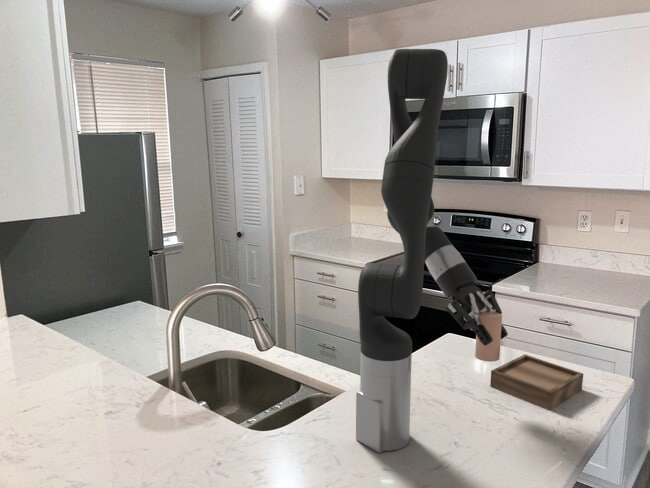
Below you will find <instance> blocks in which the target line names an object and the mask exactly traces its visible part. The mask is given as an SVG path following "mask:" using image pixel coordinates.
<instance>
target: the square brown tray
mask: <svg viewBox="0 0 650 488" xmlns="http://www.w3.org/2000/svg"><path fill="white" fill-rule="evenodd" d="M490 371H491V372H490V385H489V387H491V388H493V389H496V390H499V391H500V392H503V393H505V394H509V395H511V396H513V397H517V398H518V399H521V400H524V401H526V402H528V403H531V404H534V405H536V406H538V407H542V408H544V409H545V410H549V411H551V410H553V409H555V408H556V407H557V406H559V405H561V404H562V403H563V402H565V401H567V400H568V399H570V398H572V397H573V396H575V395H576V394H578V393H579V392H581V391H582V390H583V383H584V382H583V381H584V373H582V372H579V371H577V370H573V369H570V368H568V367H565V366H561V365H558V364H555V363H552V362H549V361H546V360H542V359H540V358H536V357H534V356H530V355H528V354H522V355H521V356H519V357H516V358H515V359H512V360H510V361H508V362H506V363H504V364H502V365H500V366H498V367H495V368H493V369H492V370H490Z"/></svg>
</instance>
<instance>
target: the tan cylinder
mask: <svg viewBox="0 0 650 488" xmlns="http://www.w3.org/2000/svg"><path fill="white" fill-rule="evenodd" d="M479 318H480V320H481V325H484V327H485V328H486V330H487V331H488V333H489V334H490V336H491V337H492V339H493V341H492V342H491V343H489V344H488V345H486V346H485V345H483V344H482V342H481V341H480V340H479V338H478V337H477V335H476V334H475V353H474V357H475V358H476V359H478V360H480V361H483V362H489V363H490V362H497V361H499V360H500V356H501V355H500V354H501V343H502V342H501V341H502V339H501V327H502V325H503V315H502V314H499V313H496V312H491V311H482V312H479Z"/></svg>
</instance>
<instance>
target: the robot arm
mask: <svg viewBox="0 0 650 488" xmlns="http://www.w3.org/2000/svg"><path fill="white" fill-rule="evenodd" d="M448 63H449V62H448V56H447V54H446V52H445V51H444V50H442V49H436V48H398V49H395V50H394V51H392V53H391V55H390V57H389V60H388V67H387V92H388V98H389V99H388V101H389V109H390V111H389V112H390V119H391V125H392V133H393V140H394V144H393V146H392V147H391V149H390V150H389V151H388V153H387V155H386V157H385V160H384V165H383V173H382V180H381V189H380V191H381V192H380V193H381V197H382V201H383V203H384V205H385V207H386V209H387V210H386V213H387V214H386V215H387V220H388V222H389V223H390V225H391V227H392V229H393V230H394V231H396V233H397V234H399V237H400V239H401V242H402V246H403V252H404V253H403V255H404V256H403V257H404V262H403V264H402V265H400V264H392V263H391V264H389V263H379V262H377V263H376V262H370V263H367V264H365V265H364V266H363V268H361V271H360V274H359V279H358V284H357V285H358V287H357V294H358V295H357V298H358V299H357V301H358V302H357V303H358V321H359V322H358V323H359V341H360V369H359V372H360V377H359V381H360V382H359V385H360V386H359V390H358V391H356V394H355V398H356V399H355V402H356V403H355V440H356V441H358V442H360V443H362V444H363V445H365V446H366V447H368V448H369V449H372V451H375V452H376V453H378V454H380V453H383V452H390V451H397V450H400V449H403V448H404V447H406V446H407V445H408V443H409V442H410V433H411V432H410V428H411V425H410V424H411V394H412V393H411V392H412V391H411V390H412V389H411V388H412V387H411V386H412V357H413V354H412V353H413V342H412V338H411V336H410V335H409V333H407V332H406V331H404V330H402V329H401V328H398V327H396V326H395V325H394V324H392V323H391V322H390V321H388V320H387V319H386V318H385V317H390V318H397V319H398V318H399V319H407V320H411V319H414V318H416V316H417V315H418V313H419V311H420V308H421V304H422V299H423V288H424V286H423V285H424V275H425V273H424V272H425V268H424V267H425V265H426V267H427V270H428V271H429V274H430V275H431V276H432V278H433V279H434V281H435V282H436V284H437V285H438V287H439V289H440V290H441V292H442V293H443V295H444V296H445V298H447V299H451V302H449V303H448V304H447V305H446V306H445V310H447V312H448V313H449V314H450V316H451V317H452V318H453V319H454V320H455V321H456V323H458V324H459V326H460V327H461V328H462V329H463V330H467V329H468V330H471V331H473V332H474V334H475V336H476V335H477V337H478V338H479V340H480V341H481V342H482V344H483V345H485V346H486V345H488V344H489V343H491V342H492V341H493V339H492V337H491V336H490V334H489V333H488V331H487V330H486V328H485V327H484V325H481V320H480V318H479V312H482V311H491V312H496V313H499V314H501V315H502V314H503V312H502V309H501V307H500V304H499V303H498V301H497V299H496V297H495V295H494V293H493V291H492V290H491V289H488V290H486V291H482V290H481V289H480V288H479V287H478V286H477V281H478V278H477V276H476V275H475V273H474V272H473V270H472V269H471V268H470V266H469V264H468V263H467V262H466V260H465V259H464V257H463V256H462V255H461V253H460V252H459V251H458V249H456V247H454V245H453V243H452V242H451V241H450V240H449V238H448V236H447V235H446V234H445V232H444V231H443V230H442V229H441V227H438V226H427V225H428V223H429V222H430V221H431V220H432V219H433V216H434V214H435V202H434V201H433V197H432V194H433V186H434V185H433V184H434V178H435V177H434V176H435V168H436V167H435V166H436V155H437V153H436V152H437V141H438V131H439V126H440V118H441V113H442V107H443V102H444V97H445V91H446V85H447V79H448V73H449V72H448V70H449V69H448V67H449V66H448V65H449V64H448ZM407 99H408V100H424V101H423V104H422V105H421V109H420V111H419V113H417V116H416V118H415V120H413V121H412V118H411V117H410V114H409V112H408V108H407V101H406V100H407ZM493 308H494V309H493ZM462 318H463V319H462ZM508 335H509V333H508V331H507V329H506V328H505V326H504V325H503V324H502V327H501V340H503V339H505V338H506V337H508Z"/></svg>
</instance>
